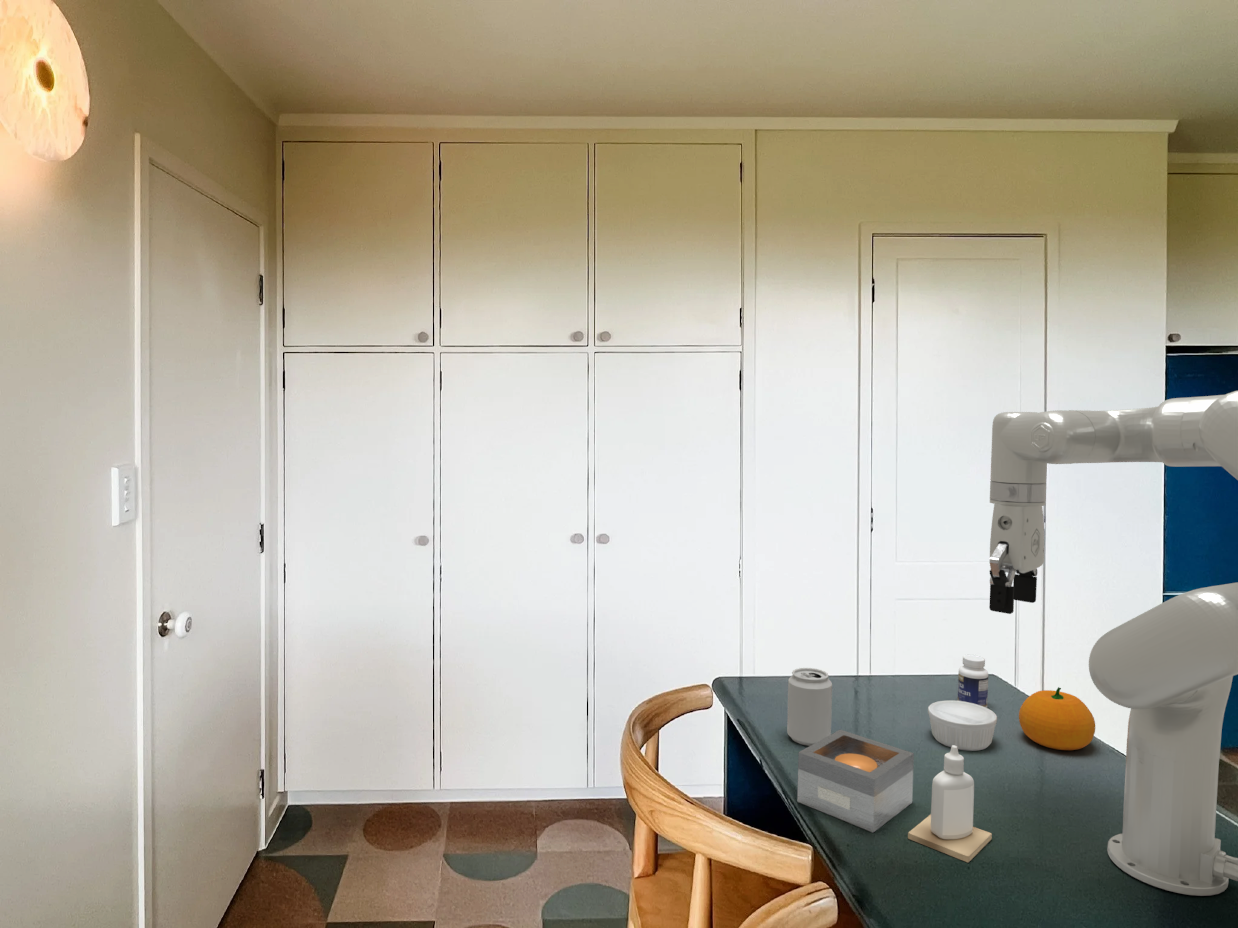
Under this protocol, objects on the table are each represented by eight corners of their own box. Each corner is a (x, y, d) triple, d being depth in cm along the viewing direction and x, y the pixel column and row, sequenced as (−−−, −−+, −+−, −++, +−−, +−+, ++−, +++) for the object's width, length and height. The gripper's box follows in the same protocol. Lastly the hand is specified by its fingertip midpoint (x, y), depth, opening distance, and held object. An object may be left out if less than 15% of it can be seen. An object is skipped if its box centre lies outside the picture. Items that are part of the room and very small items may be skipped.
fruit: (1103, 743, 138) (1105, 687, 137) (1082, 763, 130) (1085, 704, 129) (1031, 724, 146) (1033, 671, 145) (1007, 742, 138) (1010, 686, 137)
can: (839, 744, 137) (841, 676, 136) (803, 750, 134) (804, 681, 133) (813, 728, 144) (815, 663, 143) (778, 733, 141) (780, 668, 140)
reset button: (883, 798, 116) (884, 762, 116) (863, 813, 112) (864, 775, 111) (846, 784, 120) (847, 749, 120) (826, 798, 116) (827, 762, 116)
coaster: (991, 839, 106) (991, 833, 106) (968, 862, 101) (968, 856, 100) (933, 817, 112) (933, 811, 112) (907, 838, 106) (908, 832, 106)
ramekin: (931, 750, 135) (932, 720, 134) (923, 725, 145) (924, 697, 145) (1002, 757, 132) (1003, 727, 131) (988, 731, 143) (989, 703, 142)
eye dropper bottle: (977, 843, 104) (981, 755, 103) (933, 839, 105) (935, 751, 104) (969, 826, 108) (972, 741, 107) (926, 822, 109) (929, 738, 108)
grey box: (912, 802, 116) (913, 753, 116) (872, 833, 107) (873, 780, 107) (838, 775, 125) (840, 729, 124) (796, 802, 116) (797, 752, 115)
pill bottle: (951, 703, 156) (952, 655, 155) (969, 699, 158) (971, 651, 158) (974, 713, 151) (976, 663, 151) (993, 708, 154) (995, 659, 153)
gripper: (1024, 500, 109) (1019, 621, 110) (1062, 492, 121) (1058, 601, 123) (969, 496, 115) (965, 611, 116) (1011, 488, 127) (1007, 593, 128)
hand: (1013, 606), depth 119 cm, fingers open, 9 cm apart
